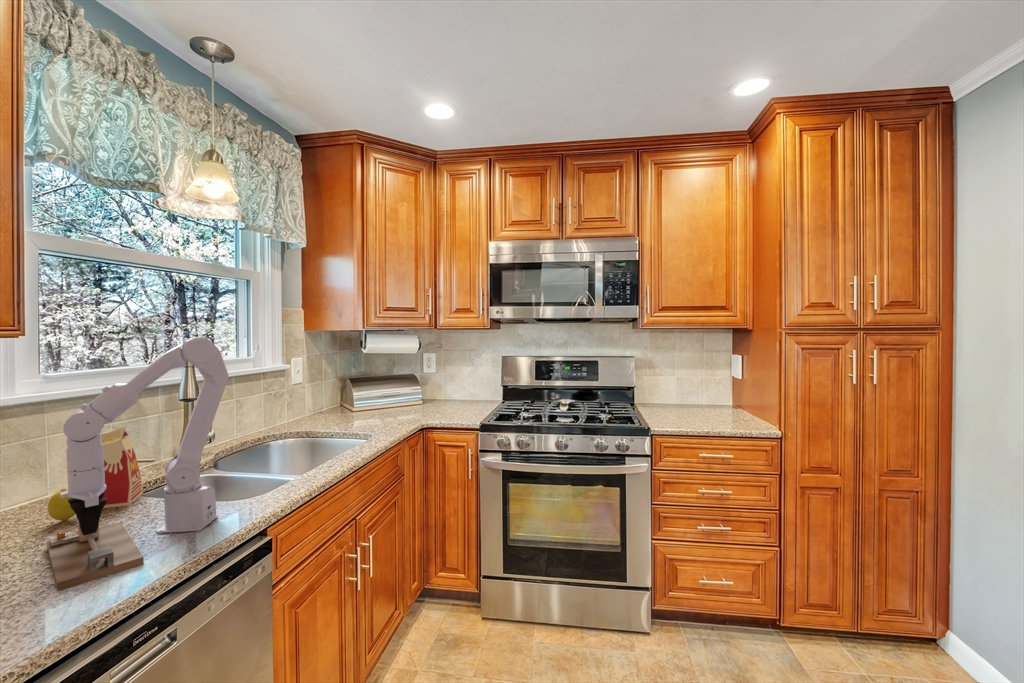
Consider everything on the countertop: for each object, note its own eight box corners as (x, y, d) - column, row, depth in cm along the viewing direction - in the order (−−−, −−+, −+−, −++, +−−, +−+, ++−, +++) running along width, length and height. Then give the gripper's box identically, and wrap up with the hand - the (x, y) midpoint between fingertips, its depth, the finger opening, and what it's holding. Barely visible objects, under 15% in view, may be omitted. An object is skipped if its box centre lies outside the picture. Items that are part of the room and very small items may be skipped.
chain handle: (49, 540, 96) (48, 515, 96) (95, 528, 102) (94, 505, 101) (57, 570, 84) (56, 542, 84) (108, 555, 90) (107, 529, 89)
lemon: (60, 527, 106) (59, 493, 106) (42, 525, 108) (40, 492, 107) (87, 517, 112) (85, 485, 112) (69, 516, 113) (67, 484, 113)
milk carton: (143, 493, 128) (140, 422, 127) (131, 505, 120) (128, 429, 119) (101, 498, 124) (98, 425, 124) (86, 511, 116) (82, 432, 115)
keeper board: (47, 548, 97) (46, 528, 96) (121, 528, 105) (120, 511, 105) (57, 591, 81) (56, 568, 80) (143, 564, 90) (142, 543, 89)
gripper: (56, 465, 98) (59, 527, 99) (63, 480, 89) (66, 549, 89) (100, 458, 104) (102, 517, 104) (111, 471, 94) (113, 536, 95)
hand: (88, 531), depth 97 cm, fingers closed on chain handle, 2 cm apart
